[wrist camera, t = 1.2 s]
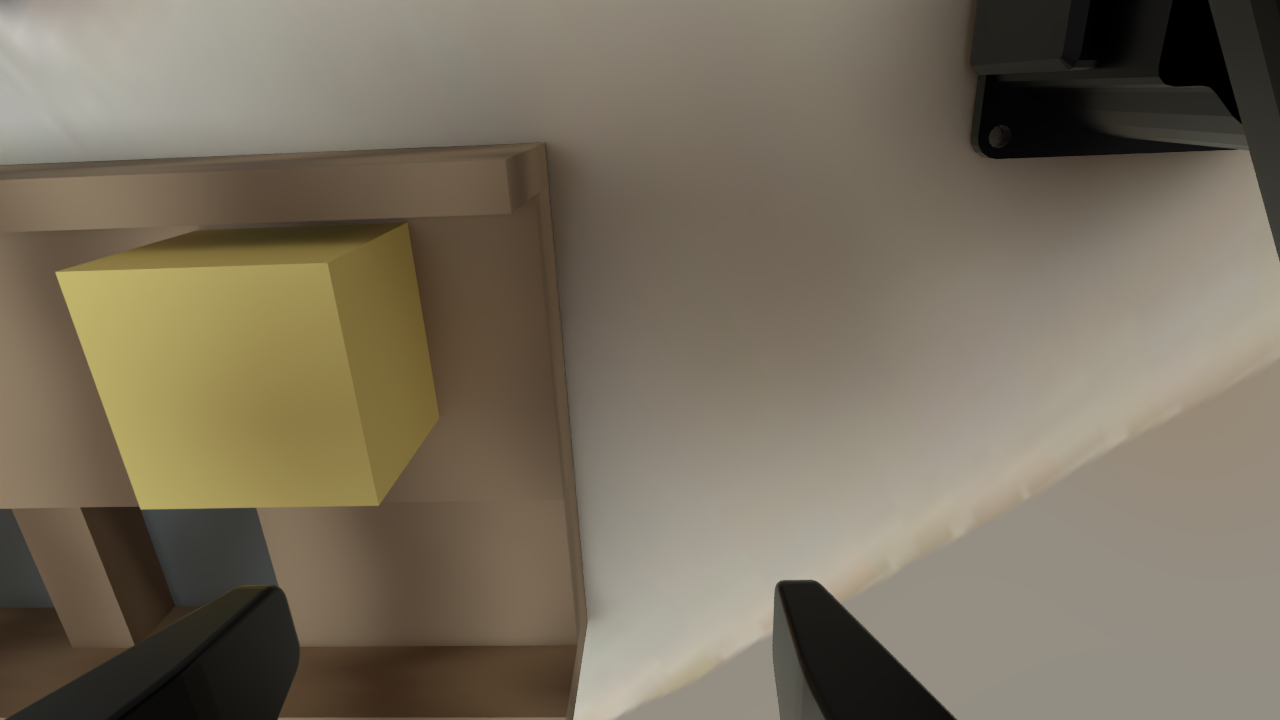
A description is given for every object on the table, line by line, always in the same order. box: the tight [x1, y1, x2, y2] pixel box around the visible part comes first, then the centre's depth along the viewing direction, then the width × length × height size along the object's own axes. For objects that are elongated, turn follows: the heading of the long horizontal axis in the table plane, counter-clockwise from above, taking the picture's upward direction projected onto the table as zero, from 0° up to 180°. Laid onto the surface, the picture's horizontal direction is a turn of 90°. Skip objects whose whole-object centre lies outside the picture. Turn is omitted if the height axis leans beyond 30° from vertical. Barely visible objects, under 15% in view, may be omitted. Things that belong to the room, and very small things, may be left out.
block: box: [55, 222, 439, 510], centre depth 15 cm, size 5×5×4 cm
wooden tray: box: [0, 143, 587, 720], centre depth 18 cm, size 23×15×5 cm, turn 92°
